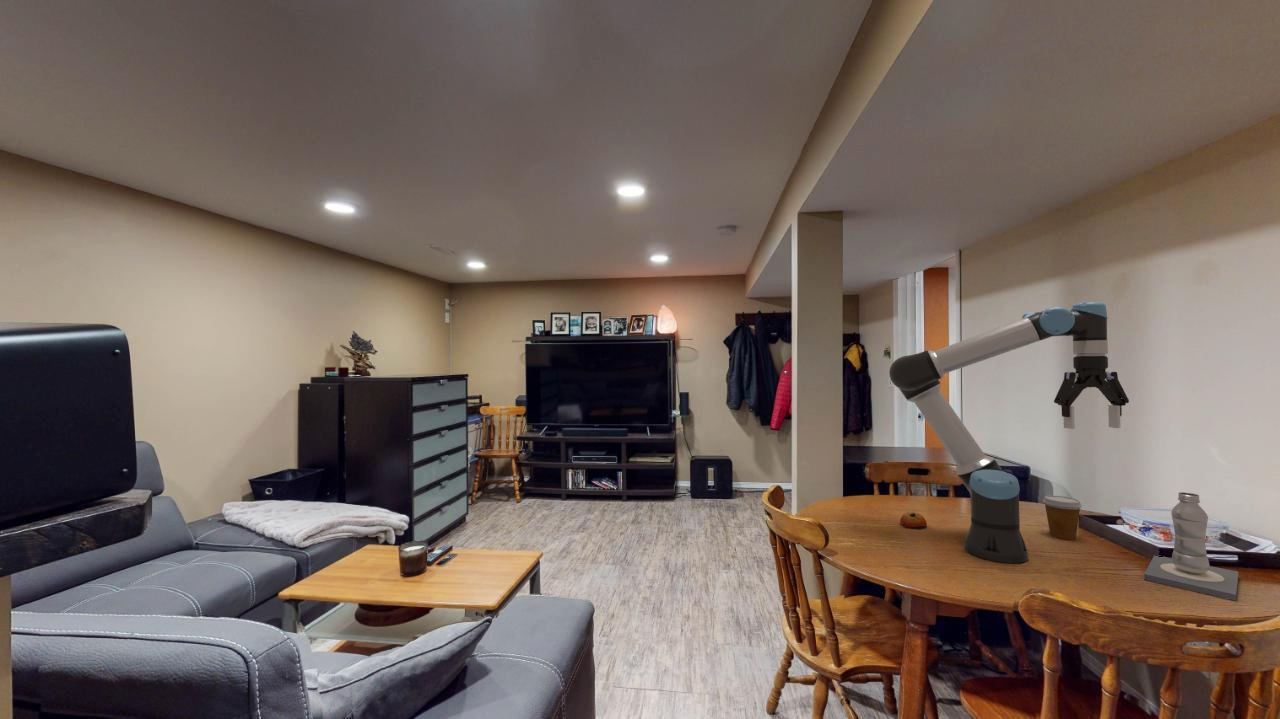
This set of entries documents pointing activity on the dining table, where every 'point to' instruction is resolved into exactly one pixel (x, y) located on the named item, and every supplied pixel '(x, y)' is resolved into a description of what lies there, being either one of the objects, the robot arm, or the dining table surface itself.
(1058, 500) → the disposable coffee cup
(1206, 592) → the board
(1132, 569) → the dining table surface
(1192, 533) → the plastic bottle
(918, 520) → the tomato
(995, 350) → the robot arm
